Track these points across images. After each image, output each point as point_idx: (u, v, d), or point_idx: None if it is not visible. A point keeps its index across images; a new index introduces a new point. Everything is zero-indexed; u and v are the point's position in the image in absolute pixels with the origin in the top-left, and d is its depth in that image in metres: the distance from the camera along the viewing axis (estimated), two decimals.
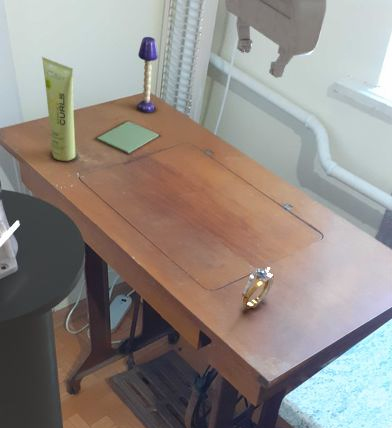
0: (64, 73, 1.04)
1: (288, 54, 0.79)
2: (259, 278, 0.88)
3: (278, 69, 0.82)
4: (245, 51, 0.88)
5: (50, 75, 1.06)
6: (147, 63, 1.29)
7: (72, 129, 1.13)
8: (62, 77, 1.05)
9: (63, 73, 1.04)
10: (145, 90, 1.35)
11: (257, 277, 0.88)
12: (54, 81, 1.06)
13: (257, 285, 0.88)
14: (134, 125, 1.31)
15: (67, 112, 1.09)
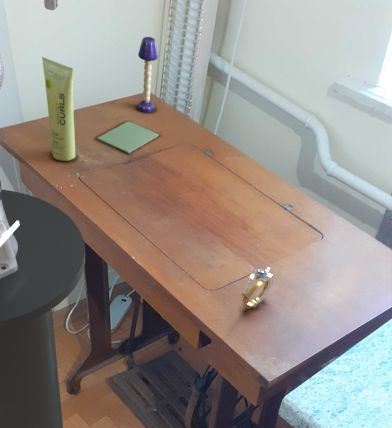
0: (64, 73, 1.04)
1: None
2: (259, 278, 0.88)
3: (47, 1, 0.89)
4: None
5: (50, 75, 1.06)
6: (147, 63, 1.29)
7: (72, 129, 1.13)
8: (62, 77, 1.05)
9: (63, 73, 1.04)
10: (145, 90, 1.35)
11: (257, 277, 0.88)
12: (54, 81, 1.06)
13: (257, 285, 0.88)
14: (134, 125, 1.31)
15: (67, 112, 1.09)
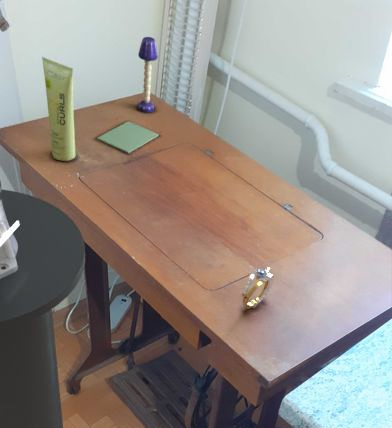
0: (64, 73, 1.04)
1: None
2: (259, 278, 0.88)
3: None
4: (4, 29, 1.06)
5: (50, 75, 1.06)
6: (147, 63, 1.29)
7: (72, 129, 1.13)
8: (62, 77, 1.05)
9: (63, 73, 1.04)
10: (145, 90, 1.35)
11: (257, 277, 0.88)
12: (54, 81, 1.06)
13: (257, 285, 0.88)
14: (134, 125, 1.31)
15: (67, 112, 1.09)
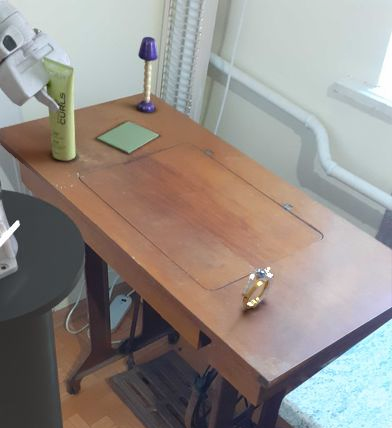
0: (64, 72, 1.04)
1: (40, 97, 1.05)
2: (259, 278, 0.88)
3: (50, 107, 1.07)
4: None
5: (51, 74, 1.06)
6: (147, 63, 1.29)
7: (72, 129, 1.13)
8: (63, 76, 1.05)
9: (64, 72, 1.04)
10: (145, 90, 1.35)
11: (257, 277, 0.88)
12: (54, 80, 1.06)
13: (257, 285, 0.88)
14: (134, 125, 1.31)
15: (67, 112, 1.09)
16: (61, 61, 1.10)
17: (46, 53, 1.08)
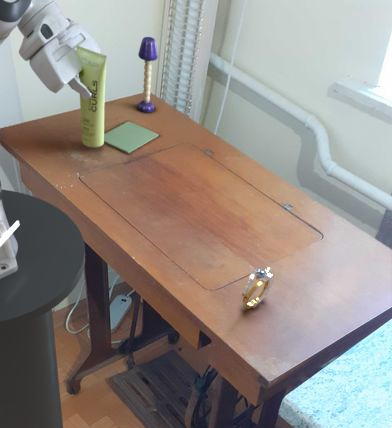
0: (97, 60, 1.08)
1: (73, 84, 1.09)
2: (259, 278, 0.88)
3: (83, 94, 1.11)
4: None
5: (84, 62, 1.09)
6: (147, 63, 1.29)
7: (102, 116, 1.16)
8: (96, 64, 1.08)
9: (97, 60, 1.08)
10: (145, 90, 1.35)
11: (257, 277, 0.88)
12: (87, 68, 1.09)
13: (257, 285, 0.88)
14: (134, 125, 1.31)
15: (98, 99, 1.13)
16: (92, 50, 1.14)
17: (78, 42, 1.11)
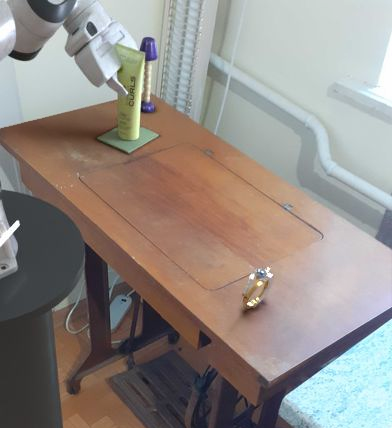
0: (136, 57, 1.13)
1: (111, 83, 1.13)
2: (259, 278, 0.88)
3: (119, 92, 1.15)
4: None
5: (123, 59, 1.14)
6: (147, 63, 1.29)
7: (139, 110, 1.22)
8: (134, 61, 1.13)
9: (136, 57, 1.13)
10: (145, 90, 1.35)
11: (257, 277, 0.88)
12: (126, 64, 1.15)
13: (257, 285, 0.88)
14: None
15: (136, 94, 1.18)
16: (131, 47, 1.19)
17: (118, 39, 1.17)
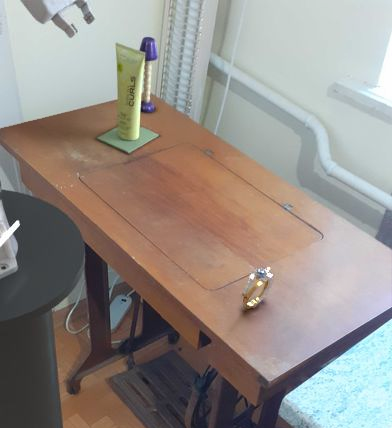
0: (136, 57, 1.13)
1: (57, 20, 1.07)
2: (259, 278, 0.88)
3: (67, 31, 1.09)
4: (90, 22, 1.16)
5: (123, 59, 1.14)
6: (147, 63, 1.29)
7: (139, 110, 1.22)
8: (134, 61, 1.13)
9: (136, 57, 1.13)
10: (145, 90, 1.35)
11: (257, 277, 0.88)
12: (126, 64, 1.15)
13: (257, 285, 0.88)
14: None
15: (136, 94, 1.18)
16: None
17: None
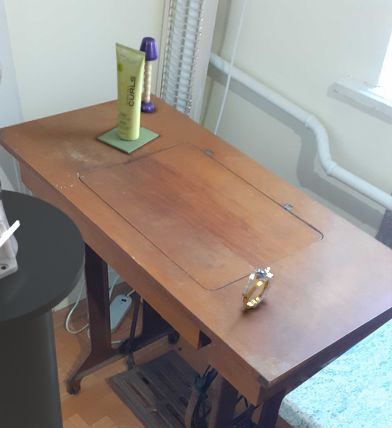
0: (136, 57, 1.13)
1: None
2: (259, 278, 0.88)
3: None
4: None
5: (123, 59, 1.14)
6: (147, 63, 1.29)
7: (139, 110, 1.22)
8: (134, 61, 1.13)
9: (136, 57, 1.13)
10: (145, 90, 1.35)
11: (257, 277, 0.88)
12: (126, 64, 1.15)
13: (257, 285, 0.88)
14: None
15: (136, 94, 1.18)
16: None
17: None
